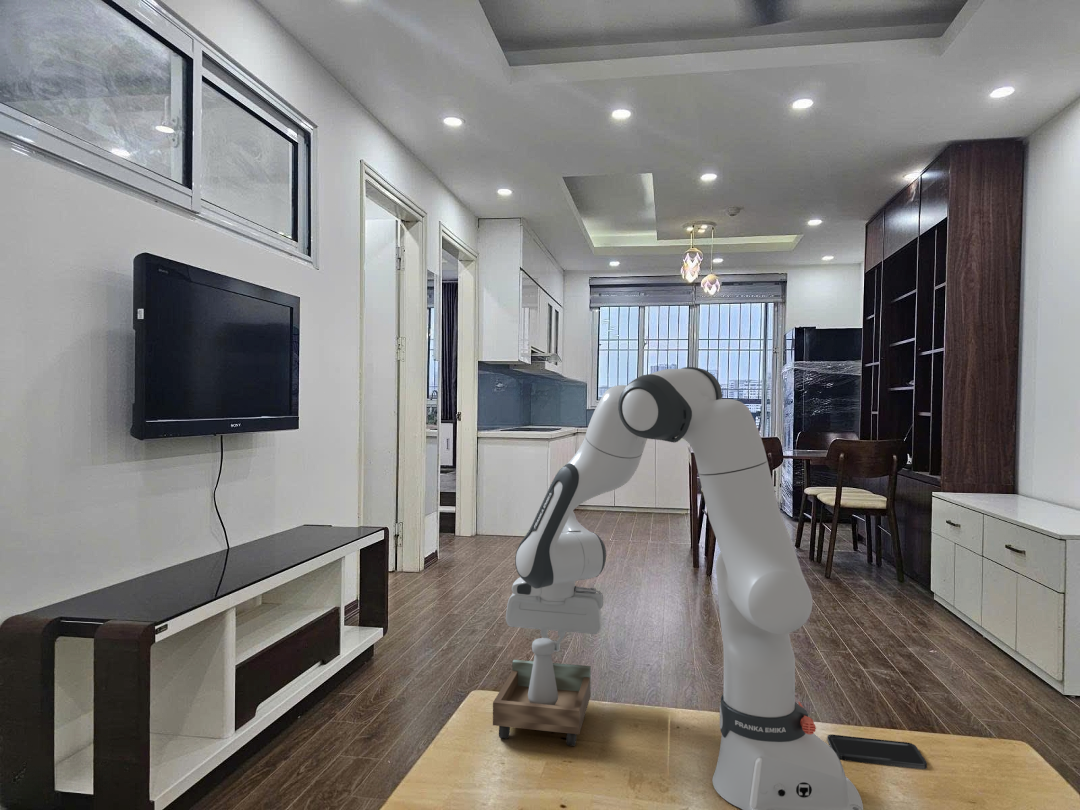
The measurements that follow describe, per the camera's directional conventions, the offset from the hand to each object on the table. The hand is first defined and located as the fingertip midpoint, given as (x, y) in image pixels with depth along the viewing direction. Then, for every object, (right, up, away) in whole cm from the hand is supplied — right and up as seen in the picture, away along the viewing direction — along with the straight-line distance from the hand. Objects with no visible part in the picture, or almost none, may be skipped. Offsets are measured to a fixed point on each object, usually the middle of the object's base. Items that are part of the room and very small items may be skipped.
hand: (552, 650), depth 141 cm
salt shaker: (-2, -6, -15) cm, 16 cm away
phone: (+57, -11, -22) cm, 62 cm away
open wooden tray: (-2, -10, -13) cm, 16 cm away
